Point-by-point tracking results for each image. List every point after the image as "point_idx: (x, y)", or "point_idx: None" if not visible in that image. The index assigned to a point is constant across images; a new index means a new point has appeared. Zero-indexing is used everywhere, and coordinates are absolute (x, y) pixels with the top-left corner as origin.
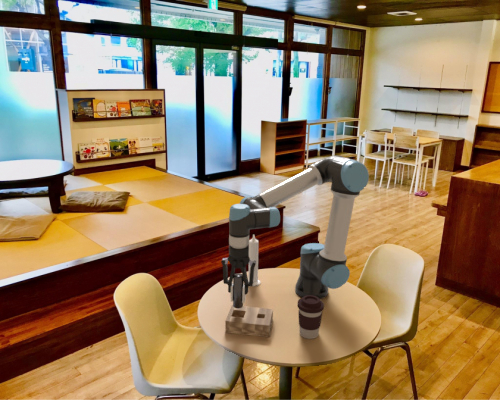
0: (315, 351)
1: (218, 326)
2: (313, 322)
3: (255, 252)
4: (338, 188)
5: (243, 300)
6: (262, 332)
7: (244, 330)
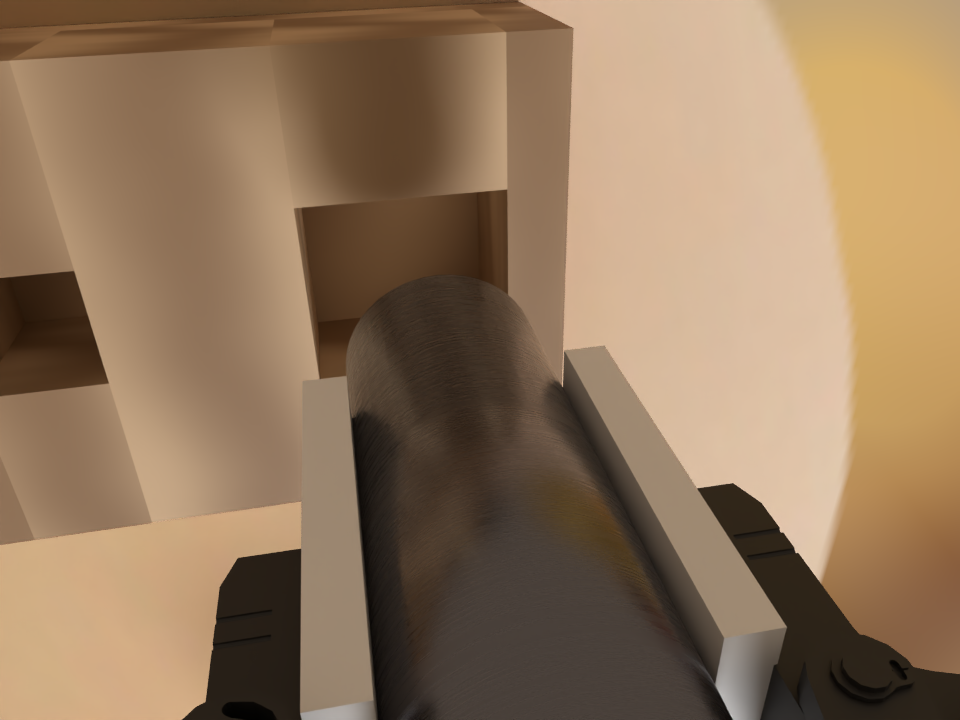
0: None
1: (635, 117)
2: None
3: None
4: None
5: (321, 411)
6: None
7: (231, 26)
